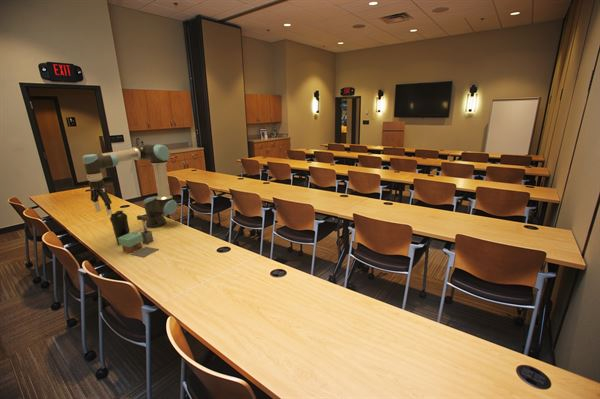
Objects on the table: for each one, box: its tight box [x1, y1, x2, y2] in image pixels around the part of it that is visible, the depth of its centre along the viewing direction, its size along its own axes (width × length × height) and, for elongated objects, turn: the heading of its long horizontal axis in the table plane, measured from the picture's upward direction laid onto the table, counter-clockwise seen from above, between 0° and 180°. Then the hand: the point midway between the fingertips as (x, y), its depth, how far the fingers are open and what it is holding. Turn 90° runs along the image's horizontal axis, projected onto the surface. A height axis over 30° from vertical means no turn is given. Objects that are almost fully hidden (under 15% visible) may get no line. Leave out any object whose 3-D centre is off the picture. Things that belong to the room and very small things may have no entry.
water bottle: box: [109, 210, 131, 246], centre depth 204 cm, size 10×10×23 cm
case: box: [121, 242, 143, 254], centre depth 195 cm, size 8×8×5 cm
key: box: [131, 214, 149, 234], centre depth 198 cm, size 10×9×11 cm
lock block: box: [139, 229, 154, 245], centre depth 205 cm, size 5×5×8 cm
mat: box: [129, 246, 160, 258], centre depth 191 cm, size 12×12×1 cm
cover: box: [118, 231, 143, 247], centre depth 193 cm, size 10×10×5 cm
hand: (104, 212), depth 184 cm, fingers open, 13 cm apart
